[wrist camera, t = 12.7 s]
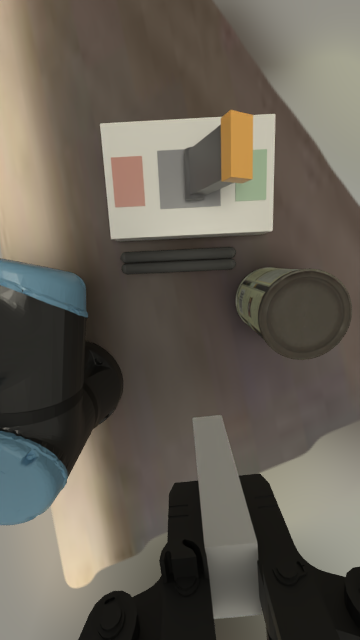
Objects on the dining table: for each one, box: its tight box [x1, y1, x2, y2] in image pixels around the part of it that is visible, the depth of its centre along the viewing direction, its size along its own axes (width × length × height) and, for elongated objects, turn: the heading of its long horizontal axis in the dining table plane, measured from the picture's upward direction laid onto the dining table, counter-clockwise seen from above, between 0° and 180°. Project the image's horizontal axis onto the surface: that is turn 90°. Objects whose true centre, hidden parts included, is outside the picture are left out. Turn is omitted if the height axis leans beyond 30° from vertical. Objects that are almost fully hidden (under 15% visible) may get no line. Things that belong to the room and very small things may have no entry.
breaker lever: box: [184, 110, 253, 201], centre depth 31 cm, size 3×6×11 cm, turn 2°
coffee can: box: [236, 267, 352, 360], centre depth 37 cm, size 10×10×14 cm
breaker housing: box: [100, 114, 275, 241], centre depth 38 cm, size 22×14×5 cm, turn 93°
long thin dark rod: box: [121, 247, 236, 274], centre depth 42 cm, size 18×3×2 cm, turn 93°
